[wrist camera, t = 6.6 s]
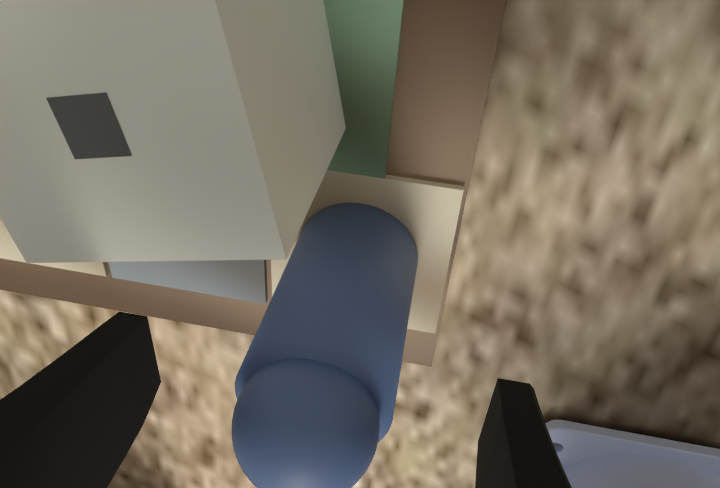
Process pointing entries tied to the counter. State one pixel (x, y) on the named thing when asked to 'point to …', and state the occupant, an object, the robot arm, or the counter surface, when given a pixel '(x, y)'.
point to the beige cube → (163, 127)
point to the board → (339, 172)
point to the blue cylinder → (327, 353)
